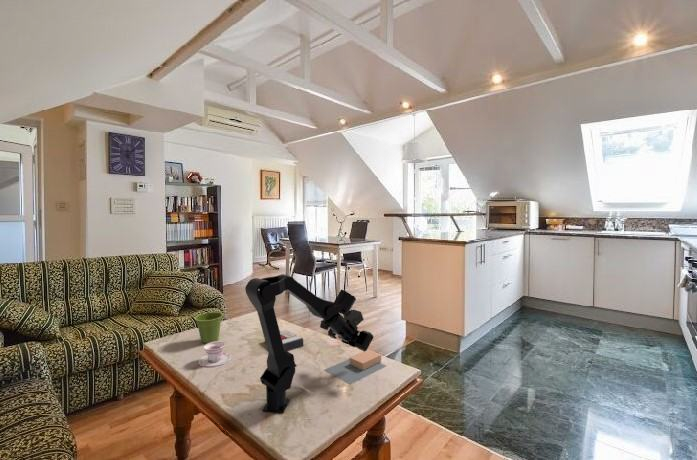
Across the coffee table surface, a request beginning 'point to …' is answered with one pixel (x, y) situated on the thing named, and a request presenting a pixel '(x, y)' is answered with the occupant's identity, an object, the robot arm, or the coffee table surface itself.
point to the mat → (352, 371)
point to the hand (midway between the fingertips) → (361, 346)
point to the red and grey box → (291, 340)
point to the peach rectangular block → (365, 359)
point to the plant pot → (209, 326)
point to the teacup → (214, 354)
